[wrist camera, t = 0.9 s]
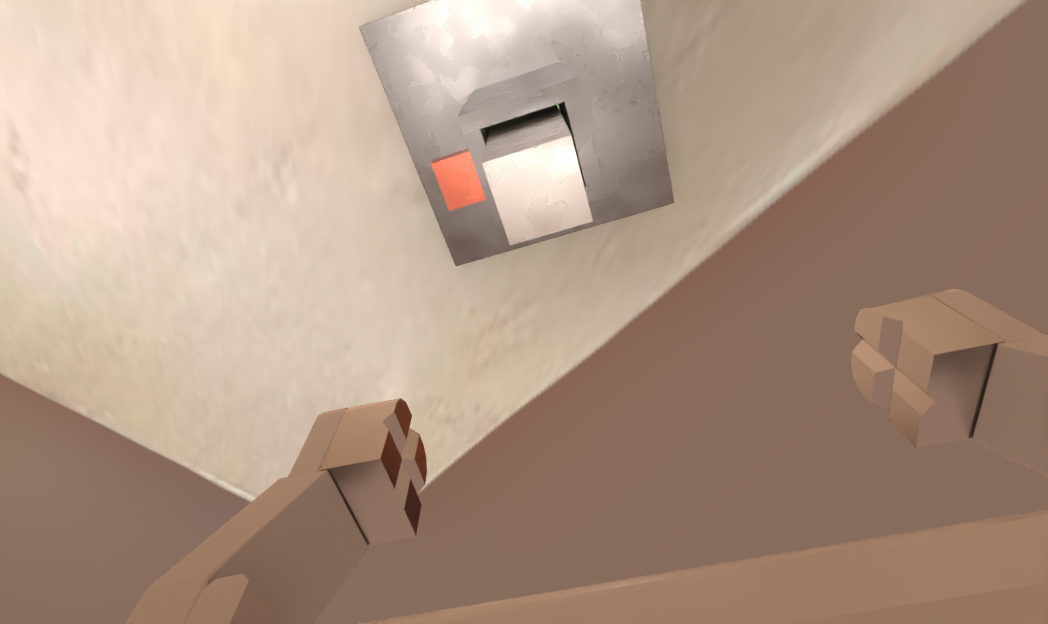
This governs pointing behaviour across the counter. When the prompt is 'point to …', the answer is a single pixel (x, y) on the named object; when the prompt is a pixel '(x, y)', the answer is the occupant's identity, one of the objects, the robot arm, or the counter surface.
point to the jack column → (535, 175)
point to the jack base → (522, 103)
